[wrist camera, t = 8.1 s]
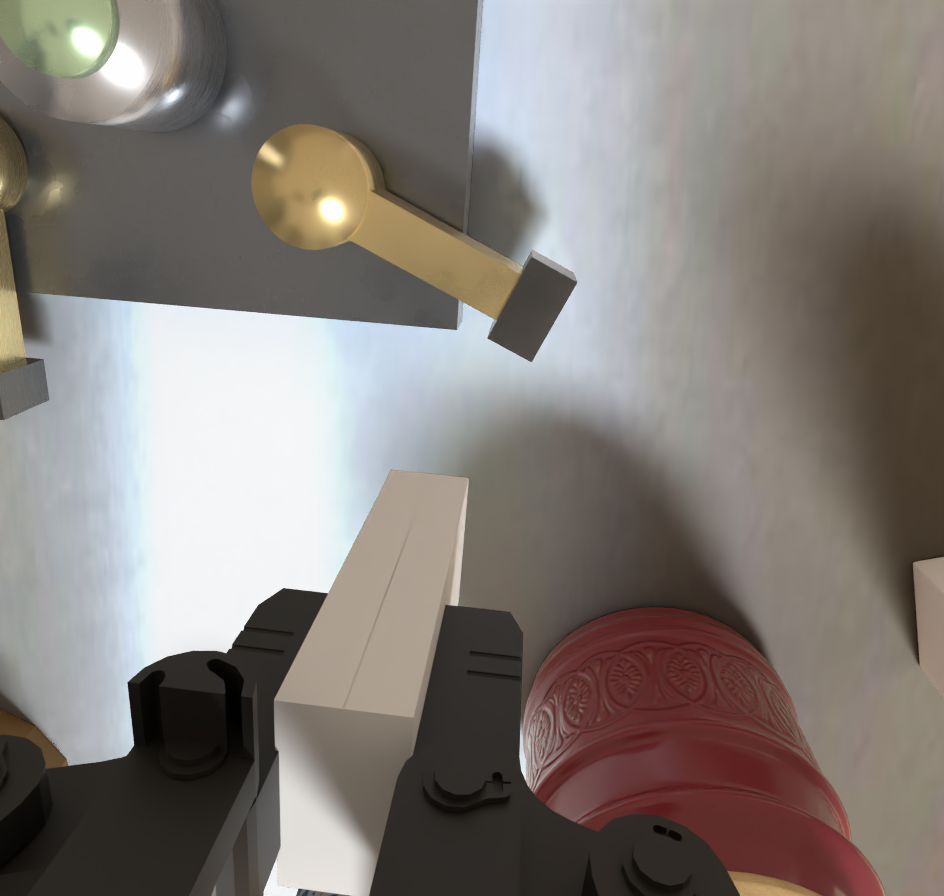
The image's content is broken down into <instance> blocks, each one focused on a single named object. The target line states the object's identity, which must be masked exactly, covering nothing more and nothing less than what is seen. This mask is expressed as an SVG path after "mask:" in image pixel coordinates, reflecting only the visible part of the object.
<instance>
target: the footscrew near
mask: <svg viewBox="0 0 944 896" xmlns="http://www.w3.org/2000/svg"><path fill="white" fill-rule="evenodd" d="M251 186H252V194H253V199H254V203H255V206H256V208H257V211H258V213H259V215H260V217H261V218H262V220H263V222H264V223H265V224H266V226H267V227H268V228H269V229H270V230H271V231H272V232H273V233H274V234H275V235H276V236H277V237H279V238H280V239H281V240H283V241H284V242H286V243H288V244H290V245H292V246H295V247H298V248H301V249H307V250H321V249H326V248H330V247H333V246H337V245H340V244H343V243H346V242H350V241H352V242H354V243H356V244H358V245H360V246H361V247H363V248H365V249H367V250H369V251H371V252H372V253H374V254H376V255H378V256H380V257H382V258H383V259H385V260H387V261H389V262H391V263H393V264H394V265H396V266H398V267H400V268H402V269H404V270H405V271H407V272H409V273H411V274H413V275H415V276H416V277H418V278H420V279H422V280H424V281H425V282H427V283H429V284H431V285H433V286H435V287H436V288H438V289H440V290H442V291H444V292H446V293H447V294H449V295H451V296H453V297H455V298H457V299H458V300H460V301H462V302H464V303H466V304H468V305H469V306H471V307H473V308H475V309H477V310H479V311H480V312H482V313H484V314H486V315H488V316H490V317H491V318H493V319H494V321H493V323H492V326H491V329H490V332H489V335H488V339H490V340H492V341H493V342H495V343H497V344H499V345H501V346H503V347H505V348H506V349H508V350H510V351H512V352H514V353H516V354H517V355H519V356H521V357H523V358H525V359H527V360H528V361H530V362H532V360H533V359H534V357H535V355H536V353H537V352H538V350H539V348H540V346H541V345H542V343H543V341H544V339H545V338H546V336H547V334H548V333H549V331H550V329H551V327H552V326H553V324H554V322H555V320H556V319H557V317H558V315H559V313H560V312H561V310H562V308H563V306H564V305H565V303H566V301H567V299H568V298H569V296H570V294H571V293H572V291H573V289H574V287H575V286H576V284H577V280H576V278H575V275H574V273H573V272H571V271H569V270H568V269H566V268H564V267H562V266H561V265H559V264H557V263H555V262H553V261H552V260H550V259H548V258H546V257H544V256H543V255H541V254H539V253H537V252H535V251H534V250H532V251H531V253H530V255H529V257H528V258H527V260H526V262H525V264H524V266H521V265H519V264H517V263H516V262H514V261H512V260H510V259H508V258H507V257H505V256H503V255H501V254H499V253H498V252H496V251H494V250H492V249H490V248H489V247H487V246H485V245H483V244H481V243H480V242H478V241H476V240H474V239H472V238H471V237H469V236H467V235H465V234H463V233H462V232H460V231H458V230H456V229H454V228H453V227H451V226H449V225H447V224H445V223H444V222H442V221H440V220H438V219H436V218H435V217H433V216H431V215H429V214H427V213H426V212H424V211H422V210H420V209H418V208H417V207H415V206H413V205H411V204H409V203H408V202H406V201H404V200H402V199H400V198H399V197H397V196H395V195H393V194H391V193H390V192H388V191H386V190H385V182H384V177H383V173H382V170H381V167H380V165H379V163H378V161H377V159H376V157H375V156H374V155H373V153H372V152H371V151H370V150H369V148H368V147H367V146H366V145H365V144H363V143H362V142H361V141H360V140H358V139H357V138H355V137H353V136H351V135H349V134H346V133H343V132H340V131H336V130H332V129H328V128H324V127H321V126H317V125H311V124H300V125H293V126H290V127H286V128H284V129H282V130H280V131H278V132H277V133H275V134H274V135H272V136H271V137H270V138H269V139H268V140H267V141H266V142H265V144H264V145H263V146H262V148H261V149H260V151H259V152H258V155H257V157H256V159H255V162H254V165H253V170H252V178H251Z"/></svg>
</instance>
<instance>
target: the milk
mask: <svg viewBox="0 0 944 896" xmlns="http://www.w3.org/2000/svg"><path fill="white" fill-rule="evenodd" d="M913 575H914V589H915V604H916V618H917V632H918V647H919V661H920V668H921V670H922V671H923V672H924V674H925V675H926V676H927V677H928V679H929V680H930V681H931V682H932V684H933V685H934V686H935V687H936V689H937V690H938V691H939V693H940V694H941V695H942V696H943V698H944V557H940V558H934V559H928V560H922V561H916V562H914V563H913Z"/></svg>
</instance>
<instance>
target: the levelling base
mask: <svg viewBox="0 0 944 896" xmlns="http://www.w3.org/2000/svg"><path fill="white" fill-rule="evenodd" d="M482 8H483V0H0V118H2V119H3V120H4V121H5V122H6V123H7V124H8V125H9V126H10V127H11V129H12V130H13V131H14V133H15V134H16V135H17V137H18V139H19V141H20V143H21V145H22V147H23V149H24V152H25V156H26V160H27V165H28V181H27V186H26V189H25V192H24V194H23V196H22V198H21V199H20V201H19V202H18V203H17V204H16V205H15V206H14V207H13V208H11V209H10V210H8V211H6V212H4V215H5V222H6V228H7V235H8V242H9V248H10V255H11V262H12V268H13V275H14V282H15V288H16V291H19V292H30V293H42V294H53V295H65V296H76V297H87V298H99V299H110V300H122V301H133V302H144V303H156V304H167V305H179V306H190V307H201V308H213V309H224V310H236V311H247V312H258V313H270V314H281V315H293V316H304V317H316V318H327V319H338V320H350V321H361V322H373V323H384V324H395V325H407V326H418V327H430V328H441V329H452V330H457V329H458V327H459V325H460V323H461V322H462V311H463V302H462V301H460V300H458V299H457V298H455V297H453V296H451V295H449V294H447V293H446V292H444V291H442V290H440V289H438V288H436V287H435V286H433V285H431V284H429V283H427V282H425V281H424V280H422V279H420V278H418V277H416V276H415V275H413V274H411V273H409V272H407V271H405V270H404V269H402V268H400V267H398V266H396V265H394V264H393V263H391V262H389V261H387V260H385V259H383V258H382V257H380V256H378V255H376V254H374V253H372V252H371V251H369V250H367V249H365V248H363V247H361V246H360V245H358V244H356V243H354V242H352V241H350V242H346V243H343V244H340V245H337V246H333V247H330V248H326V249H321V250H307V249H301V248H298V247H295V246H292V245H290V244H288V243H286V242H284V241H283V240H281V239H280V238H279V237H277V236H276V235H275V234H274V233H273V232H272V231H271V230H270V229H269V228H268V227H267V226H266V224H265V223H264V222H263V220H262V218H261V217H260V215H259V213H258V211H257V208H256V206H255V203H254V199H253V194H252V186H251V178H252V170H253V165H254V162H255V159H256V157H257V155H258V152H259V151H260V149H261V148H262V146H263V145H264V144H265V142H266V141H267V140H268V139H269V138H270V137H271V136H272V135H274V134H275V133H277V132H278V131H280V130H282V129H284V128H286V127H290V126H293V125H300V124H311V125H317V126H321V127H324V128H328V129H332V130H336V131H340V132H343V133H346V134H349V135H351V136H353V137H355V138H357V139H358V140H360V141H361V142H362V143H363V144H365V145H366V146H367V147H368V148H369V150H370V151H371V152H372V153H373V155H374V156H375V157H376V159H377V161H378V163H379V165H380V167H381V170H382V173H383V177H384V182H385V190H386V191H388V192H390V193H391V194H393V195H395V196H397V197H399V198H400V199H402V200H404V201H406V202H408V203H409V204H411V205H413V206H415V207H417V208H418V209H420V210H422V211H424V212H426V213H427V214H429V215H431V216H433V217H435V218H436V219H438V220H440V221H442V222H444V223H445V224H447V225H449V226H451V227H453V228H454V229H456V230H458V231H460V232H462V233H463V234H465V235H468V220H469V205H470V190H471V174H472V159H473V144H474V129H475V114H476V99H477V84H478V68H479V53H480V38H481V23H482Z"/></svg>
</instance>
